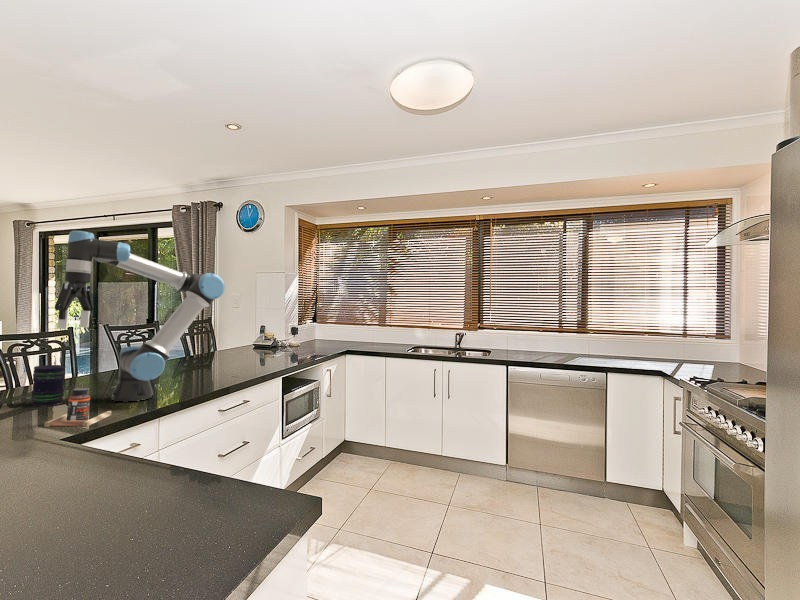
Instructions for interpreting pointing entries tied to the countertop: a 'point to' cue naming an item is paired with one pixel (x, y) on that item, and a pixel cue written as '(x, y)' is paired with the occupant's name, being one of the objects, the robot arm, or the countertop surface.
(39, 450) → the countertop surface
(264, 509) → the countertop surface
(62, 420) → the guide channel
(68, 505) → the countertop surface
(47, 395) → the storage jar
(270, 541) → the countertop surface
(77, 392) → the supplement bottle
